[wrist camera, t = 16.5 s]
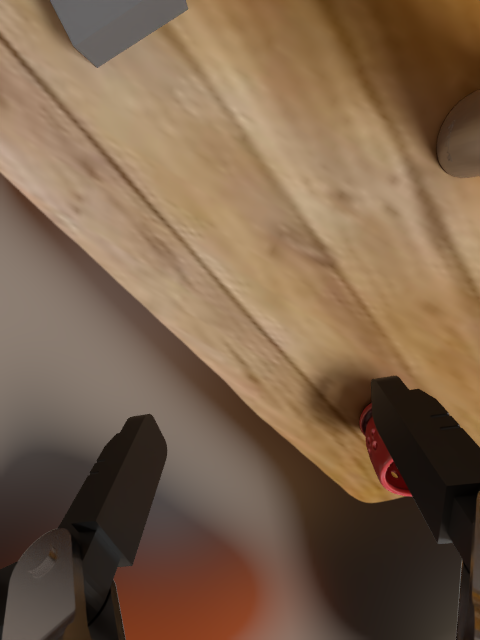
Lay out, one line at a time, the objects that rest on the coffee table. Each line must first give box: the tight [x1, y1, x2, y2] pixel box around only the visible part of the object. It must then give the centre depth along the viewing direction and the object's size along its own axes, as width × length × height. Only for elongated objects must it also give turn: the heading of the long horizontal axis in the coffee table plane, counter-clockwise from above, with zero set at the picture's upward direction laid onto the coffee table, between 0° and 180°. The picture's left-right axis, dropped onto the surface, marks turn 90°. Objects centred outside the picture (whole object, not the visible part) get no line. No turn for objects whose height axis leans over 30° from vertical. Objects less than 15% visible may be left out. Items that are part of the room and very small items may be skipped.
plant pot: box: [359, 402, 412, 496], centre depth 46 cm, size 13×13×12 cm
